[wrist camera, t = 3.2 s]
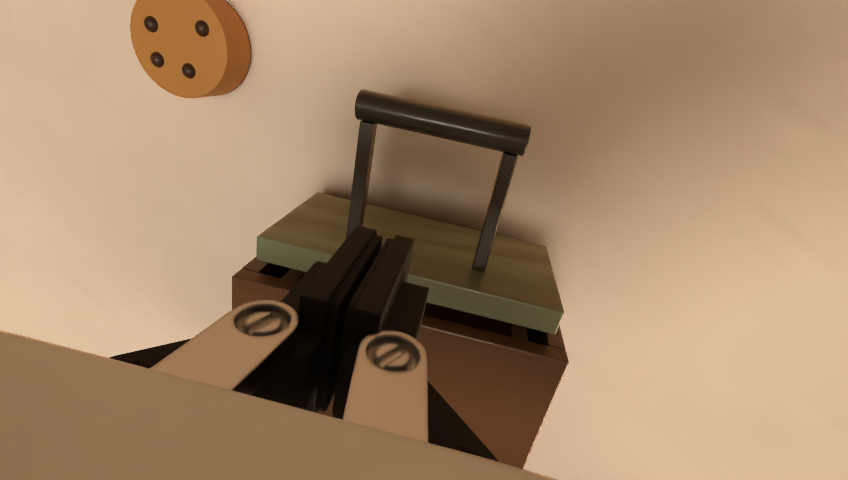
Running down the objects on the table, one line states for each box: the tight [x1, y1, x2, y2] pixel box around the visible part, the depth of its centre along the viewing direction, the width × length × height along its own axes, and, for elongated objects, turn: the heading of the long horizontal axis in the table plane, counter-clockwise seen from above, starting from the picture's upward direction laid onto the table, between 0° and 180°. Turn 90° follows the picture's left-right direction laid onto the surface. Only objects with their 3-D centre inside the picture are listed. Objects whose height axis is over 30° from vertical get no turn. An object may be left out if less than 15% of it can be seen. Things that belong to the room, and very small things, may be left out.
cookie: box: [130, 0, 251, 98], centre depth 22 cm, size 5×5×2 cm
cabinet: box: [232, 257, 569, 469], centre depth 24 cm, size 16×15×9 cm
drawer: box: [257, 89, 564, 341], centre depth 22 cm, size 21×13×7 cm, turn 169°
